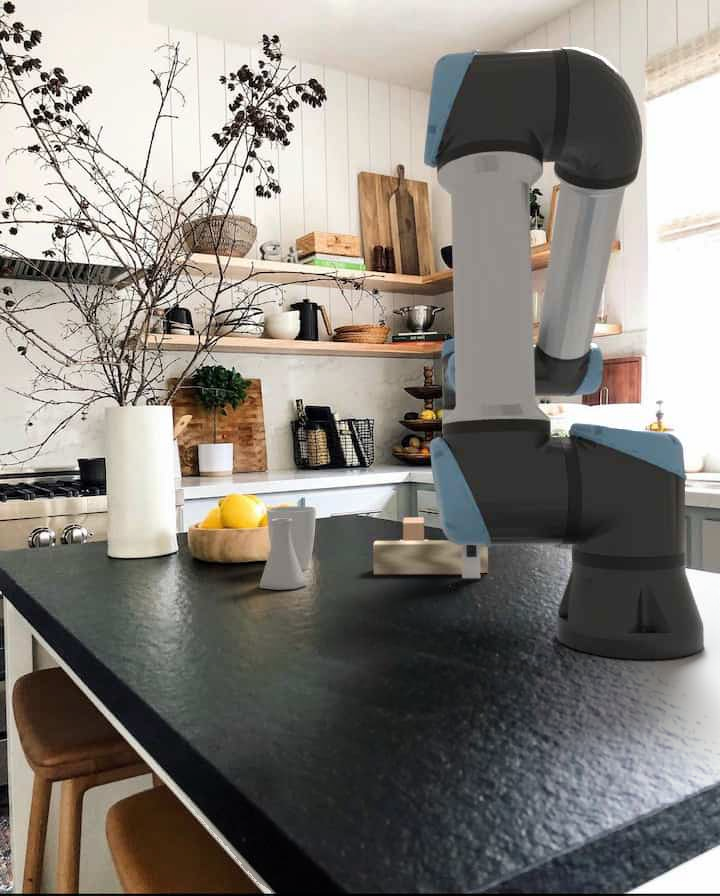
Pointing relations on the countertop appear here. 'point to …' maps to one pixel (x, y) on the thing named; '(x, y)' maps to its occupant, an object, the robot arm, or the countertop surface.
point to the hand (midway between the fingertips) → (468, 569)
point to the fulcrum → (413, 529)
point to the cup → (297, 530)
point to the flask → (282, 560)
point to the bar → (422, 557)
